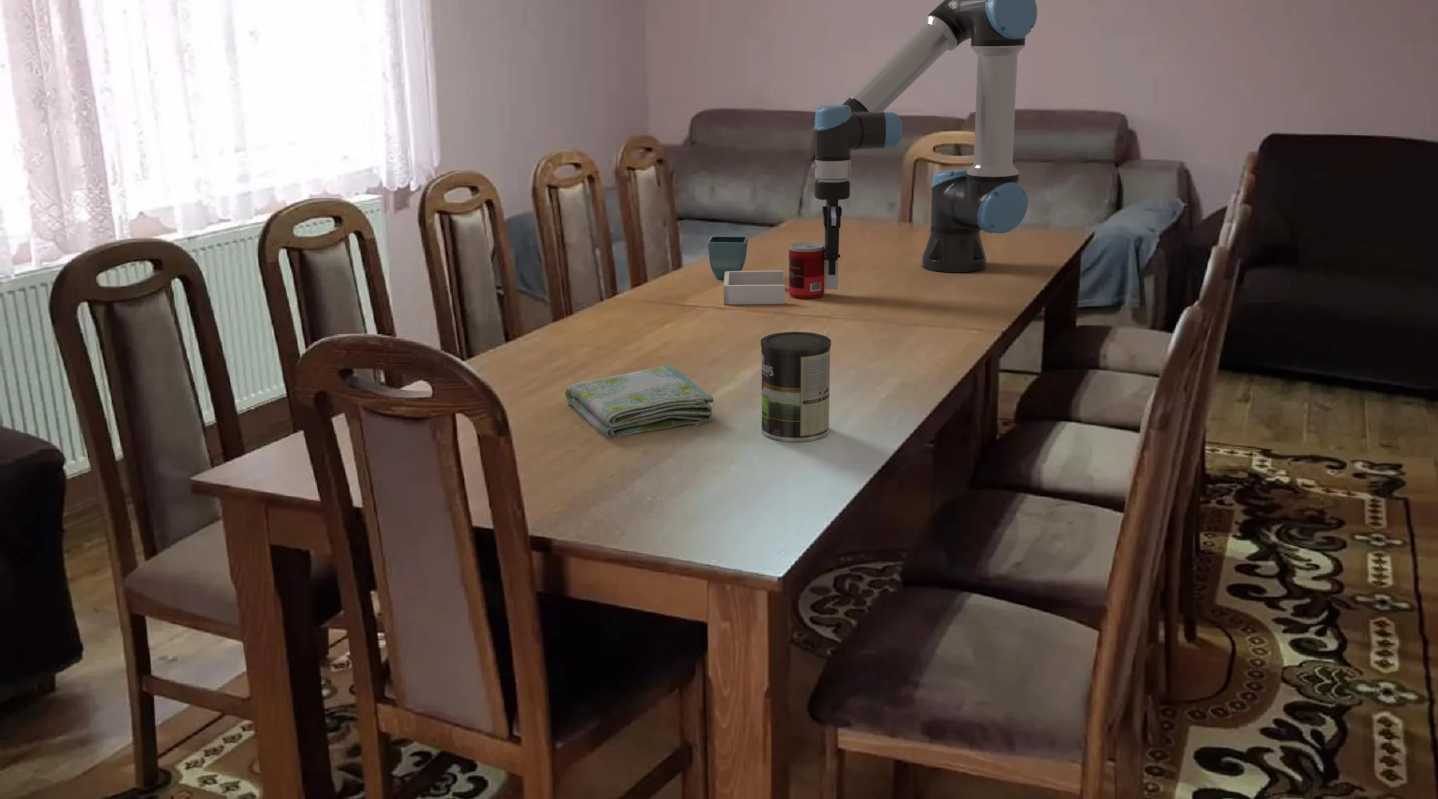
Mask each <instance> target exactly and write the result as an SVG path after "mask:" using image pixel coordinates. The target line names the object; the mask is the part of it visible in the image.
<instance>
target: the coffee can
mask: <svg viewBox="0 0 1438 799" xmlns="http://www.w3.org/2000/svg"><path fill="white" fill-rule="evenodd" d="M831 346H832V340H831V338H830V337H828V336H825V335H823V334H819V333H816V332H815V333H814V332H808V331H784V332H778V333H773V334H772V333H771V334H768V335H765V336H763V337H762V338H761V339H760V347H761V431H760V432H761V434H762V435H763V436H764V437H766V438H767V439H771V440H775V441H778V442H783V443H805V442H812V441H813V442H814V441H817V440H821V439H824V438H825V437H826V436H828V435H829V433H830V379H831V378H830V376H831V375H830V374H831V371H830V370H831Z"/></svg>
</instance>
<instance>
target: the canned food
mask: <svg viewBox="0 0 1438 799" xmlns="http://www.w3.org/2000/svg"><path fill="white" fill-rule="evenodd" d="M788 247H789V249H788V293H789V296H790V297H791V298H794V299H798V300H812V299H819V298H822V297H823V296H824V294H825V260H823V257H826V256H825V254H826V253H825V244H822V243H819V242H797V243H791V244H790V245H789V246H788Z"/></svg>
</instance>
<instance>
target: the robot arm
mask: <svg viewBox="0 0 1438 799" xmlns="http://www.w3.org/2000/svg"><path fill="white" fill-rule="evenodd" d="M1037 19H1038V6H1037V2H1036V0H943V1H942V2H941V3H939V5H937V7H935V8H934V9H932V11H930V13H928V15H926V17H925V18H924V20H923V24H924V25H922V27H921V28H920V29H919V30H918V31H916V32H915V34H914V35H913V36H911V38H910V39H908V40H907V41H906V42H905V43H904V44H903V45H902V46H901V47H900V48H899V49H898V50H896V52H895V53H894V54H893V55H892V56H891V57H890V58H889V59H888V60H887V61H886V62H885V63H883V64H882V66H881V67H880V68H878V70H876V71H875V73H873V75H872V76H870V77H869V79H867V80H865V82H864V83H863V84H862V85H861V86H860V87H859V88H858V89H857V90H855V92H854V93H853V94H852V95H850V97H848V98H847V100H846V101H844V103H843V104H824V105H820V106H818V107H817V108H816V109H815V116H814V117H815V118H814V119H815V120H814V126H813V129H814V162H815V163H813V164H812V165H811V169H814V178H815V179H817V180H815V182H814V197H815V199H816V200H821V201H825V206H823V205H822V208H821V209H822V216H823V220H822V221H823V223H822V224H823V226H824V246H825V257H823V260H825V282H824V290H838V289H839V258H841V253H840V254H839V252H840V247H839V246H840V228H841V220H842V219H841V217H842V215H843V210H842V209H843V208H842V206H841V205H839V201H840V200H842V201H843V200H847V199H849V198H850V197H851V182H850V180H848V179H850V178H851V169H852V168H851V167H852V166H851V162H852V161H851V154H852V153H851V151H857V150H870V149H871V150H873V149H874V150H875V149H883V150H884V149H887V148H888V149H889V148H894V147H896V146H897V145H899V143H900V142H901V140H902V136H903V124H902V120H901V118H900V116H899V115H898V114H897V113H895V112H893V111H892V112H891V111H885V110H887V108H889V107H890V106H891V104H893V102H894V101H895V100H897V99H898V98H899V97H900V96H901V95H902V94H903V93H904V92H906V90H907V89H909V87H911V85H912V84H913V83H914V82H916V80H917V79H919V78H920V77H921V76H922V75H923V74H924V73H925V72H926V71H927V70H928V69H929V68H930V67H931V66H932V65H933V64H934V63H935V62H936V61H937V60H939V58H941V56H942V55H943V54H945V53H946V52H947V51H954V50H955V49H956V48H957V47H958V46H959V45H961V44H962V43H964V42H965V41H968V40H970V48H971V49H972V51H974V53H976V56H977V61H976V62H977V63H976V64H977V65H976V66H977V67H976V71H977V72H976V87H975V88H976V90H975V119H974V120H975V121H974V122H975V123H974V147H973V165H971V167H970V168H968V169H956V170H943V171H937V172H935V173H934V174H933V175H932V180H931V186H930V190H931V199H930V200H931V201H930V202H931V203H930V204H931V205H930V206H931V207H930V234H929V237H928V239H927V243H926V244H925V245H926V246H925V248H924V251H923V253H922V257H921V258H922V259H921V267H923V268H924V269H927V270H929V271H935V272H941V273H942V272H943V273H968V272H969V273H971V272H977V271H978V272H979V271H981V270H984V269H986V268H987V257H986V252H985V250H984V249H985V248H984V246H983V243H982V239H981V231H983V232H985V233H989V234H1006V233H1009V232H1011V231H1013V230H1014V229H1015V228H1017V227H1018V225H1019V224H1020V223H1022V221H1023V220H1024V218H1025V217H1026V214H1027V211H1028V208H1029V197H1028V193H1027V192H1026V191H1025V189H1024V187H1023V186H1022V185H1021V184H1020V183H1019V181H1020V171H1019V170H1018V169H1017V168H1016V167H1015V166H1014V161H1013V160H1014V144H1015V143H1014V142H1015V141H1014V140H1015V118H1016V116H1015V115H1016V97H1017V96H1016V95H1017V93H1016V92H1017V75H1018V74H1017V71H1018V54H1019V53H1020V52H1021V51H1022V50H1023V49H1024V48H1025V47H1026V36H1027V35H1029V34H1030V33H1031V32H1032V29H1033V28H1034V27H1035V26H1036V23H1037Z"/></svg>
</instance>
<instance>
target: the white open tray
mask: <svg viewBox="0 0 1438 799" xmlns="http://www.w3.org/2000/svg"><path fill="white" fill-rule="evenodd" d="M723 279H724V280H723V305H727V306H728V305H785V304H786V285H785V284H784V270H742V271H725V276H724V278H723Z"/></svg>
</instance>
